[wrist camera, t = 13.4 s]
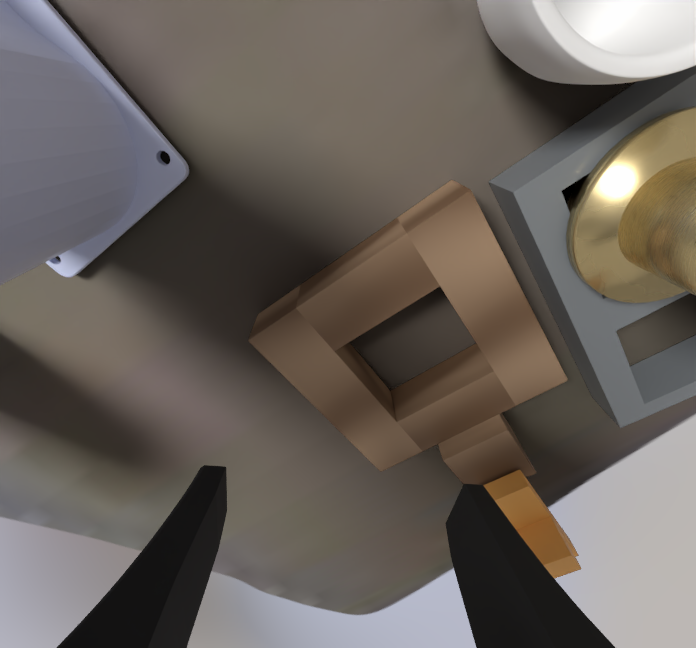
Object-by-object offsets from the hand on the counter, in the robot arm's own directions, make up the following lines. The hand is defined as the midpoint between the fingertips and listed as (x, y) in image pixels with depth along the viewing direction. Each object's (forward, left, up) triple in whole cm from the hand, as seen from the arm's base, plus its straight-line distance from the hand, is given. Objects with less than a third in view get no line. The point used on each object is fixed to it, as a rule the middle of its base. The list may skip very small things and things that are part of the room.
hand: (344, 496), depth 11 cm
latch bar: (+14, +3, -6) cm, 16 cm away
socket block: (+4, +3, -9) cm, 11 cm away
